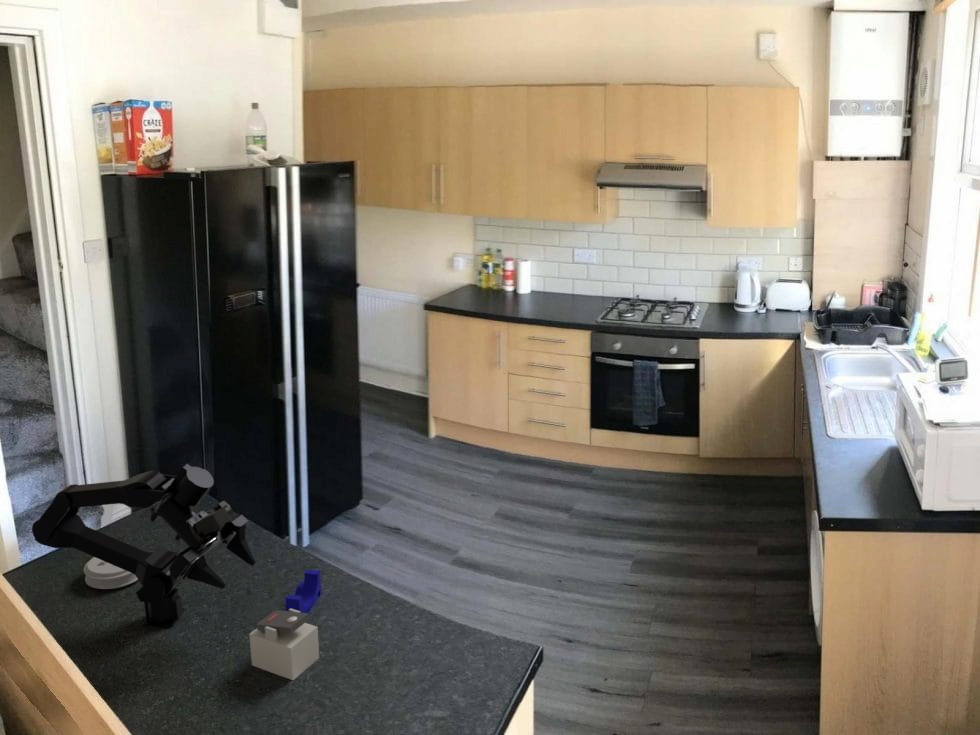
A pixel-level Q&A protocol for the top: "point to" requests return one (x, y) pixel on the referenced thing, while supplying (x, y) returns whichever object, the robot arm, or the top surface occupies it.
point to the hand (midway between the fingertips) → (239, 575)
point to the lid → (106, 575)
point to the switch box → (285, 650)
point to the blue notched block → (305, 593)
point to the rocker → (283, 621)
